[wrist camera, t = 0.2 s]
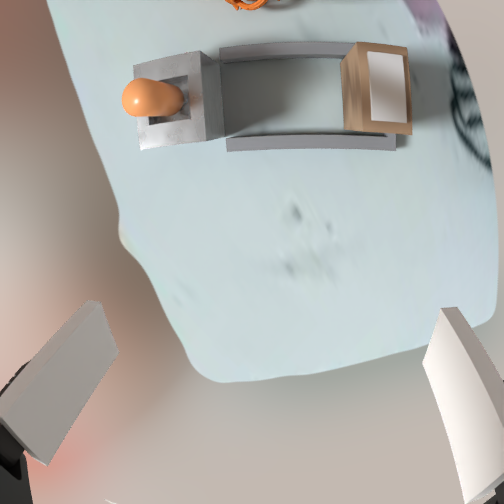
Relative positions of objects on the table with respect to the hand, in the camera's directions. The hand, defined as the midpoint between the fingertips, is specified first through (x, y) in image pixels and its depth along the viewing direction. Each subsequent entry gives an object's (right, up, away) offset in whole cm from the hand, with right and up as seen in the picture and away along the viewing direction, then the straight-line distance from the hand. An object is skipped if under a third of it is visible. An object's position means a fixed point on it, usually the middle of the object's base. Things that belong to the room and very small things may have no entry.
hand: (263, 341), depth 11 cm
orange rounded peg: (-8, +18, +15) cm, 24 cm away
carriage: (+12, +21, +19) cm, 31 cm away
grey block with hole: (-7, +21, +22) cm, 31 cm away
